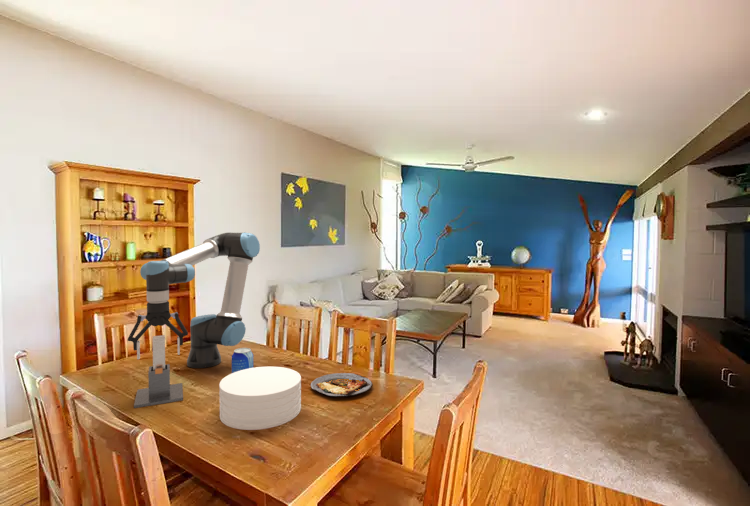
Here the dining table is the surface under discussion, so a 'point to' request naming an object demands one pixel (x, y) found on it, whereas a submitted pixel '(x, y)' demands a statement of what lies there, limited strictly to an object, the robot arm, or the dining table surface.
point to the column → (159, 352)
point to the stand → (159, 389)
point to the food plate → (341, 384)
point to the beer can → (242, 359)
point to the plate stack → (260, 397)
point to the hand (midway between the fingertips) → (159, 356)
